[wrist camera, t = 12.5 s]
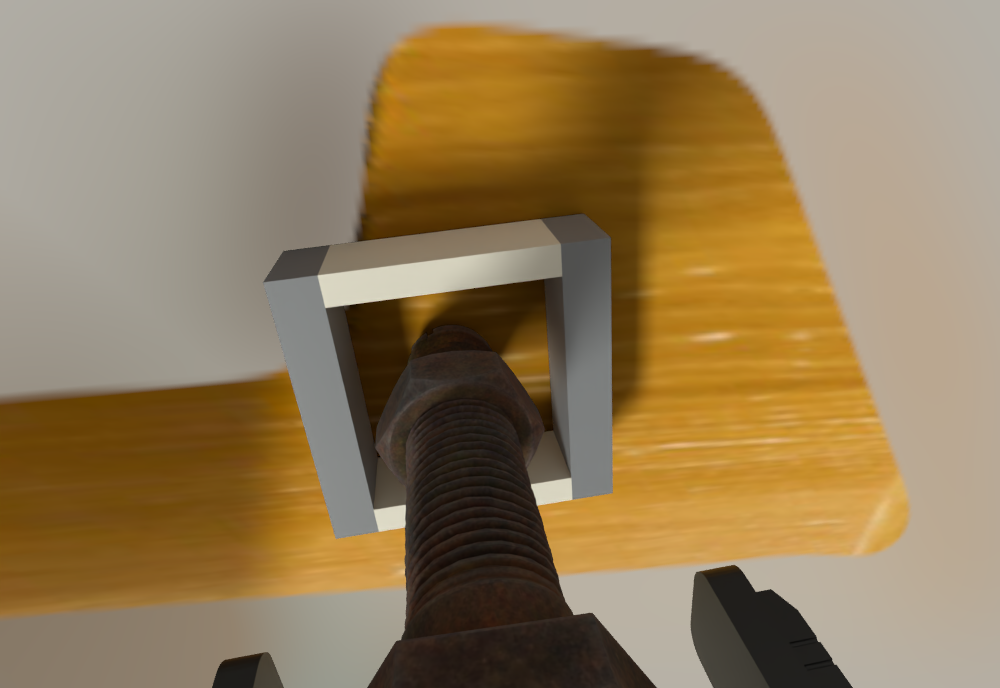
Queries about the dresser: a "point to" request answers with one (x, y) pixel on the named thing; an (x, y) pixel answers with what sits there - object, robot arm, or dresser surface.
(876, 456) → the dresser surface
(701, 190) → the dresser surface
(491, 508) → the bolt
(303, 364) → the grey white square frame
